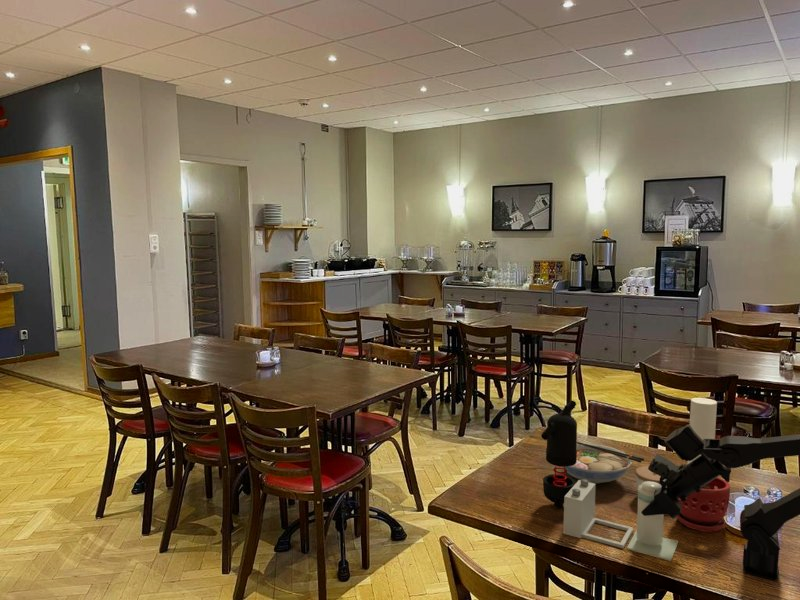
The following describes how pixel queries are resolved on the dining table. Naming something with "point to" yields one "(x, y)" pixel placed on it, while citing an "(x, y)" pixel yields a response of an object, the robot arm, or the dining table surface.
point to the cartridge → (652, 524)
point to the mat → (654, 548)
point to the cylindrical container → (703, 418)
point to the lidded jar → (645, 476)
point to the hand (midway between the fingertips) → (644, 508)
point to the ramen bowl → (600, 463)
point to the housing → (587, 514)
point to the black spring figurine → (560, 453)
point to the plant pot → (706, 507)
